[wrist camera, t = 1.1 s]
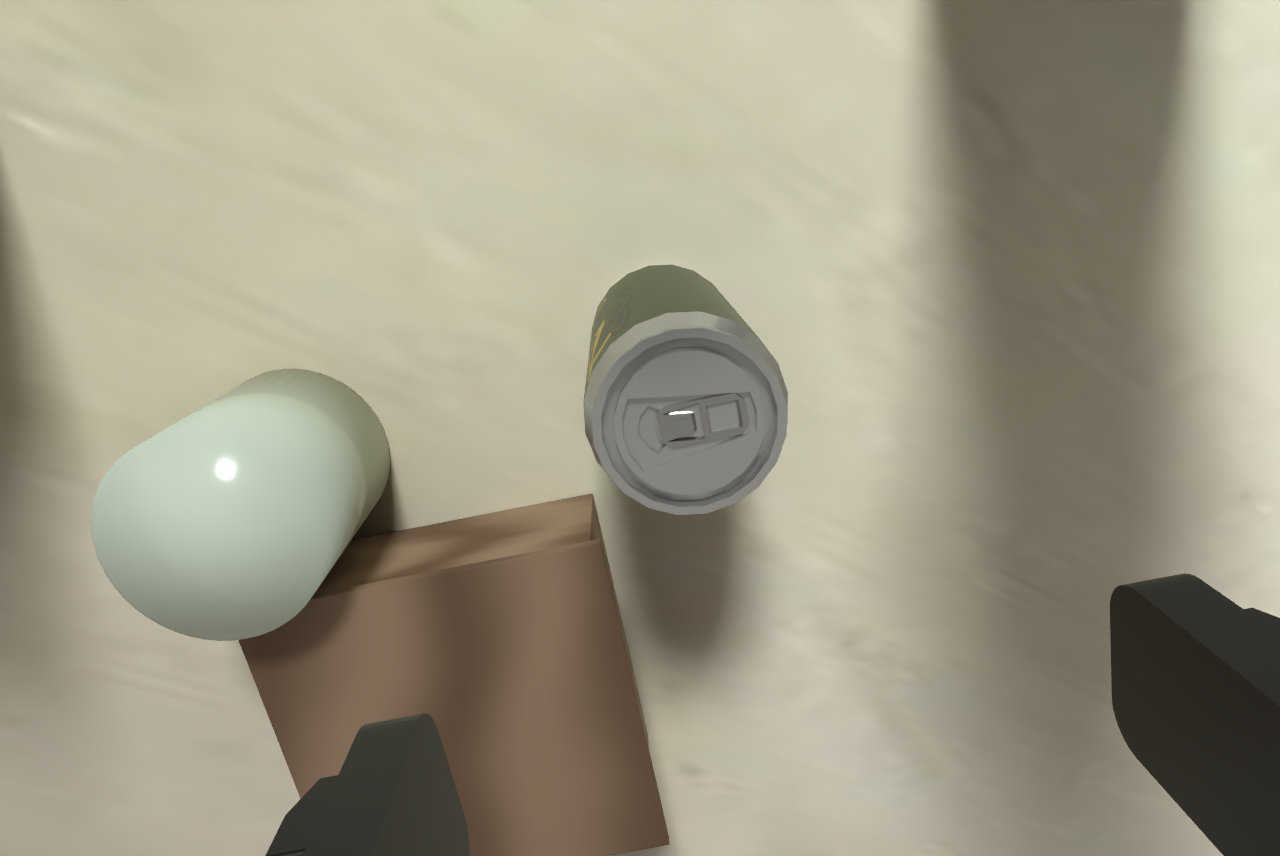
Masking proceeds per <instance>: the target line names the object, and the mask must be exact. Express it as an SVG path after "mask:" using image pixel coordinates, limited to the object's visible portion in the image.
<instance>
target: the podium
mask: <svg viewBox="0 0 1280 856" xmlns="http://www.w3.org/2000/svg"><path fill="white" fill-rule="evenodd" d="M239 642H240V645H241V647H242V650H243V652H244V655H245V658H246V660H247V663H248V665H249V668H250V670H251V673H252V675H253V678H254V681H255V683H256V686H257V688H258V691H259V693H260V696H261V698H262V701H263V704H264V706H265V709H266V711H267V714H268V716H269V719H270V721H271V724H272V727H273V729H274V732H275V734H276V737H277V739H278V742H279V744H280V747H281V750H282V752H283V755H284V757H285V760H286V762H287V765H288V767H289V770H290V773H291V775H292V778H293V780H294V783H295V785H296V788H297V790H298V793H299V795H300V798H302V797H303V796H304V795H305V794H306V793H307V792H308V791H309V790H310V789H311V787H312V786H313V785H314V784H315V783H316V782H317V781H318V780H319V779H320V778H325V777H330V776H335V775H339V772H340V770H341V768H342V766H343V763H344V761H345V759H346V757H347V754H348V752H349V750H350V748H351V745H352V743H353V741H354V739H355V736H356V734H357V732H358V730H359V729H360V728H361V727H362V726H363V725H365V724H370V723H375V722H381V721H386V720H391V719H397V718H402V717H408V716H413V715H418V714H424V713H427V714H429V715H430V716H431V717H432V718H433V720H434V722H435V724H436V726H437V729H438V732H439V735H440V738H441V741H442V745H443V748H444V751H445V754H446V757H447V761H448V764H449V767H450V770H451V773H452V776H453V780H454V783H455V786H456V789H457V792H458V795H459V799H460V802H461V805H462V808H463V811H464V815H465V818H466V823H467V828H468V835H469V848H470V856H609V855H614V854H620V853H625V852H631V851H636V850H642V849H647V848H653V847H658V846H664V845H669V836H668V831H667V827H666V823H665V818H664V814H663V810H662V805H661V801H660V796H659V792H658V788H657V783H656V779H655V775H654V770H653V766H652V761H651V757H650V753H649V748H648V734H647V730H646V726H645V721H644V717H643V712H642V708H641V704H640V699H639V695H638V690H637V686H636V682H635V677H634V673H633V669H632V664H631V660H630V655H629V651H628V647H627V642H626V638H625V633H624V629H623V625H622V620H621V616H620V612H619V607H618V603H617V598H616V594H615V590H614V585H613V581H612V576H611V572H610V568H609V563H608V559H607V555H606V550H605V546H604V541H603V537H602V533H601V528H600V524H599V519H598V515H597V511H596V506H595V502H594V498H593V494H588V495H583V496H578V497H572V498H567V499H562V500H557V501H552V502H547V503H541V504H536V505H531V506H526V507H521V508H516V509H510V510H505V511H500V512H495V513H490V514H485V515H479V516H474V517H469V518H464V519H459V520H454V521H448V522H443V523H438V524H433V525H428V526H423V527H418V528H412V529H407V530H402V531H397V532H392V533H387V534H381V535H376V536H371V537H366V538H361V539H356V540H351V541H350V543H349V544H348V545H347V547H346V548H345V550H344V551H343V553H342V554H341V556H340V557H339V558H338V560H337V561H336V563H335V564H334V566H333V567H332V569H331V570H330V572H329V573H328V574H327V576H326V577H325V579H324V580H323V582H322V583H321V585H320V586H319V587H318V589H317V590H316V592H315V593H314V595H313V596H312V598H311V599H310V600H309V602H308V603H307V604H306V606H305V607H304V608H303V609H302V610H301V611H300V612H299V613H298V614H297V615H296V616H295V617H293V618H292V619H291V620H289V621H288V622H287V623H285V624H284V625H282V626H280V627H278V628H276V629H275V630H273V631H270V632H267V633H265V634H262V635H259V636H255V637H251V638H248V639H240V640H239Z"/></svg>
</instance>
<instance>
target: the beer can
mask: <svg viewBox="0 0 1280 856" xmlns="http://www.w3.org/2000/svg"><path fill="white" fill-rule="evenodd" d="M787 414H788V392H787V389H786V386H785V383H784V380H783V377H782V374H781V371H780V368H779V364H778V363H777V361H776V360H775V359H774V357H773V356H772V355H771V353H770V352H769V351H768V349H767V348H766V347H765V345H764V344H763V343H762V341H761V340H760V339H759V338H758V336H757V335H756V334H755V333H754V332H753V331H752V329H751V328H750V327H749V326H748V325H747V323H746V322H745V321H744V320H743V319H742V318H741V316H740V315H739V314H738V313H737V312H736V311H735V309H734V308H733V307H732V306H731V305H730V304H729V302H728V301H727V300H726V299H725V298H724V297H723V295H722V294H721V293H720V292H719V291H718V290H717V288H716V287H715V286H714V285H713V284H712V283H711V282H709V281H708V280H706V279H705V278H704V277H702V276H701V275H699V274H698V273H696V272H695V271H692V270H689V269H685V268H682V267H678V266H675V265H655V266H647V267H645V268H642V269H639V270H637V271H634V272H631V273H629V274H627V275H626V276H625V277H623V278H622V279H621V280H620V281H618V282H617V283H616V284H615V285H613V286H612V287H611V288H610V289H609V291H608V292H607V294H606V295H605V297H604V298H603V300H602V301H601V303H600V304H599V306H598V308H597V312H596V315H595V319H594V323H593V327H592V333H591V342H590V351H589V360H588V368H587V377H586V386H585V395H584V416H585V432H586V436H587V438H588V441H589V443H590V446H591V448H592V450H593V453H594V455H595V458H596V460H597V462H598V463H599V464H600V466H601V467H602V468H603V469H604V471H605V472H606V473H607V475H608V476H609V477H610V478H611V479H612V480H613V481H614V483H615V484H616V485H617V486H618V487H619V488H620V490H621V491H622V492H623V493H624V494H626V495H628V496H629V497H631V498H633V499H634V500H636V501H638V502H639V503H641V504H643V505H644V506H646V507H647V508H650V509H654V510H658V511H662V512H666V513H670V514H674V515H690V514H707V513H710V512H713V511H716V510H719V509H721V508H724V507H727V506H730V505H733V504H735V503H737V502H738V501H739V500H741V499H742V498H743V497H745V496H746V495H748V494H749V493H750V492H752V491H753V490H754V489H756V488H757V487H759V486H760V484H761V483H762V482H763V480H764V479H765V478H766V476H767V475H768V474H769V472H770V471H771V470H772V468H773V467H774V466H775V464H776V463H777V460H778V458H779V455H780V452H781V449H782V446H783V443H784V440H785V437H786V431H787Z"/></svg>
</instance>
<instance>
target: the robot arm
mask: <svg viewBox="0 0 1280 856" xmlns="http://www.w3.org/2000/svg"><path fill="white" fill-rule="evenodd" d="M1110 629H1111V677H1112V703H1113V709H1114V713H1115V717H1116V720H1117V723H1118V726H1119V729H1120V731H1121V733H1122V735H1123V738H1124V740H1125V741H1126V743H1127V745H1128V747H1129V748H1130V750H1131V751H1132V753H1133V754H1134V755H1135V757H1136V758H1137V759H1138V760H1139V761H1140V762H1141V764H1142V765H1143V766H1144V767H1145V768H1146V769H1147V770H1148V771H1149V773H1150V774H1151V775H1152V776H1153V777H1154V778H1155V779H1156V780H1157V781H1158V783H1159V784H1160V785H1161V786H1162V787H1163V788H1164V789H1165V790H1166V792H1167V793H1168V794H1169V795H1170V796H1171V797H1172V798H1173V799H1174V801H1175V802H1176V803H1177V804H1178V805H1179V806H1180V807H1181V808H1182V809H1183V811H1184V812H1185V813H1186V814H1187V815H1188V816H1189V817H1190V818H1191V820H1192V821H1193V822H1194V823H1195V824H1196V825H1197V826H1198V827H1199V829H1200V830H1201V831H1202V832H1203V833H1204V834H1205V835H1206V836H1207V838H1208V839H1209V840H1210V841H1211V842H1212V843H1213V844H1214V845H1215V846H1216V848H1217V849H1218V850H1219V851H1220V852H1221V853H1222V854H1223V855H1224V856H1280V618H1278V617H1275V616H1273V615H1270V614H1268V613H1265V612H1262V611H1260V610H1257V609H1254V608H1249V609H1242V608H1241V607H1239V606H1238V605H1236V604H1235V603H1234V602H1232V601H1231V600H1229V599H1228V598H1226V597H1225V596H1224V595H1222V594H1221V593H1219V592H1218V591H1216V590H1215V589H1213V588H1212V587H1211V586H1209V585H1208V584H1206V583H1205V582H1203V581H1202V580H1201V579H1199V578H1197V577H1196V576H1194V575H1191V574H1179V575H1174V576H1169V577H1163V578H1158V579H1152V580H1147V581H1142V582H1136V583H1131V584H1126V585H1121V586H1118V587H1117V588H1115V590H1114V591H1113V593H1112V596H1111V601H1110ZM266 856H470V848H469V835H468V828H467V823H466V818H465V815H464V811H463V808H462V805H461V802H460V799H459V795H458V792H457V789H456V786H455V783H454V780H453V776H452V773H451V770H450V767H449V764H448V761H447V757H446V754H445V751H444V748H443V745H442V741H441V738H440V735H439V732H438V729H437V726H436V724H435V722H434V720H433V718H432V717H431V716H430V715H429V714H427V713H424V714H418V715H413V716H408V717H402V718H397V719H391V720H386V721H381V722H375V723H370V724H365V725H363V726H362V727H361V728H360V729H359V730H358V732H357V734H356V736H355V739H354V741H353V743H352V745H351V748H350V750H349V752H348V754H347V757H346V759H345V761H344V763H343V766H342V768H341V770H340V772H339V775H335V776H330V777H325V778H320V779H319V780H318V781H317V782H316V783H315V784H314V785H313V786H312V787H311V789H310V790H309V791H308V792H307V793H306V794H305V795H304V796H303V797H302V798H301V799H300V800H299V801H298V803H297V804H296V805H295V806H294V807H293V808H292V809H291V810H290V811H289V812H288V813H287V814H286V815H285V817H284V819H283V821H282V823H281V825H280V827H279V829H278V831H277V833H276V835H275V837H274V839H273V841H272V844H271V846H270V848H269V850H268V852H267V854H266Z"/></svg>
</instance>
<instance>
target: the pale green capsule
mask: <svg viewBox="0 0 1280 856" xmlns="http://www.w3.org/2000/svg"><path fill="white" fill-rule="evenodd" d="M389 471H390V451H389V445H388V441H387V437H386V434H385V432H384V429H383V427H382V425H381V423H380V421H379V419H378V417H377V416H376V414H375V413H374V411H373V410H372V409H371V407H370V406H369V405H368V404H367V403H366V402H365V401H364V399H363V398H362V397H360V396H359V395H358V394H357V393H356V392H355V391H353V390H352V389H351V388H349V387H348V386H346V385H345V384H343V383H341V382H339V381H337V380H335V379H334V378H331V377H329V376H326V375H323V374H321V373H317V372H313V371H309V370H301V369H281V370H274V371H270V372H266V373H262V374H260V375H257V376H255V377H253V378H251V379H249V380H247V381H245V382H244V383H242V384H240V385H239V386H237V387H235V388H234V389H232V390H230V391H229V392H227V393H225V394H224V395H222V396H220V397H219V398H217V399H215V400H214V401H212V402H210V403H208V404H207V405H205V406H203V407H202V408H200V409H198V410H197V411H195V412H193V413H192V414H190V415H188V416H187V417H185V418H183V419H182V420H180V421H178V422H177V423H175V424H173V425H172V426H170V427H168V428H166V429H165V430H163V431H161V432H160V433H158V434H156V435H155V436H153V437H151V438H150V439H148V440H146V441H145V442H143V443H141V444H140V445H138V446H136V447H135V448H133V449H131V450H130V451H128V452H127V453H125V454H124V455H123V456H122V457H121V458H119V459H118V460H117V461H116V462H115V463H114V464H113V466H112V467H111V468H110V469H109V470H108V471H107V473H106V475H105V476H104V478H103V479H102V481H101V483H100V485H99V487H98V490H97V492H96V494H95V498H94V502H93V506H92V514H91V531H92V539H93V543H94V548H95V551H96V554H97V557H98V560H99V562H100V564H101V566H102V568H103V570H104V572H105V574H106V576H107V577H108V579H109V580H110V582H111V583H112V584H113V586H114V587H115V589H116V590H117V591H118V592H119V593H120V594H121V595H122V597H123V598H124V599H125V600H126V601H127V602H129V603H130V604H131V605H132V606H133V607H134V608H135V609H136V610H138V611H139V612H141V613H142V614H143V615H145V616H146V617H147V618H149V619H151V620H153V621H154V622H156V623H158V624H159V625H161V626H164V627H166V628H168V629H170V630H173V631H175V632H178V633H181V634H184V635H187V636H191V637H196V638H201V639H207V640H217V641H227V640H240V639H248V638H251V637H255V636H259V635H262V634H265V633H267V632H270V631H273V630H275V629H276V628H278V627H280V626H282V625H284V624H285V623H287V622H288V621H289V620H291V619H292V618H293V617H295V616H296V615H297V614H298V613H299V612H300V611H301V610H302V609H303V608H304V607H305V606H306V604H307V603H308V602H309V600H310V599H311V598H312V596H313V595H314V593H315V592H316V590H317V589H318V587H319V586H320V585H321V583H322V582H323V580H324V579H325V577H326V576H327V574H328V573H329V572H330V570H331V569H332V567H333V566H334V564H335V563H336V561H337V560H338V558H339V557H340V556H341V554H342V553H343V551H344V550H345V548H346V547H347V545H348V544H349V543H350V541H351V540H352V538H353V537H354V535H355V534H356V532H357V531H358V529H359V528H360V527H361V525H362V524H363V522H364V521H365V519H366V518H367V516H368V515H369V514H370V512H371V511H372V509H373V508H374V506H375V505H376V503H377V502H378V500H379V499H380V497H381V495H382V493H383V491H384V489H385V487H386V484H387V481H388V476H389Z"/></svg>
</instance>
